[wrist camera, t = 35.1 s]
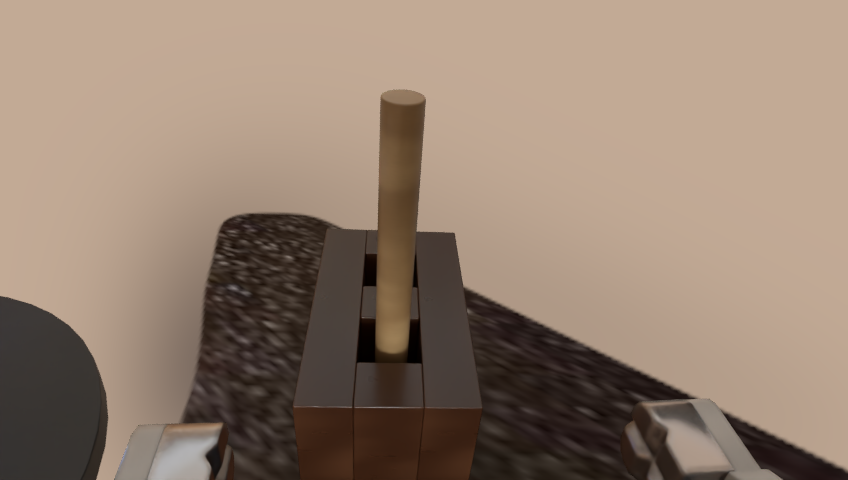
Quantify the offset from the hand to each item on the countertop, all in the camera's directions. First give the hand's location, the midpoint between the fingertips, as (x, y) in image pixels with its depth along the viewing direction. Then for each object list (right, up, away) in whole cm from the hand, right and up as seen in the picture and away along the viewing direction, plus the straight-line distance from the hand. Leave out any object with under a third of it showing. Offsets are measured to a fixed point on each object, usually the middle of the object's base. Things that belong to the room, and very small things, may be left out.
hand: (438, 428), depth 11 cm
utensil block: (-3, -6, +22) cm, 23 cm away
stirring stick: (-2, -8, +20) cm, 21 cm away
